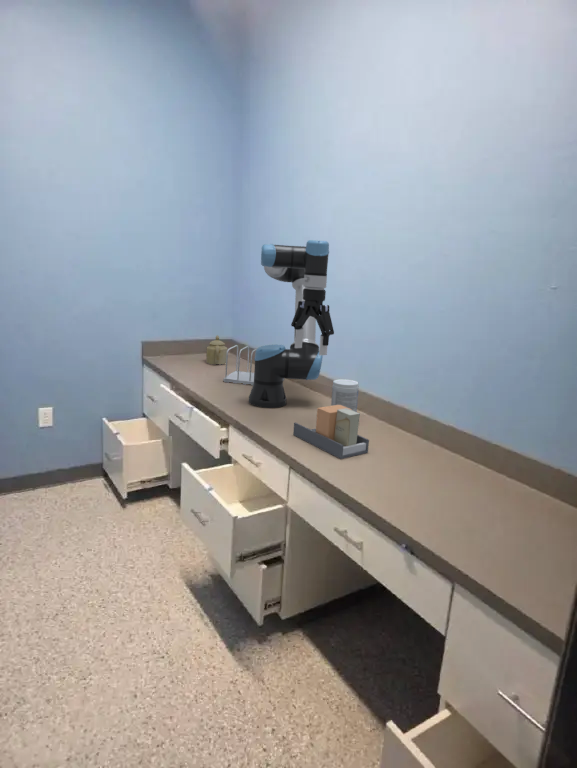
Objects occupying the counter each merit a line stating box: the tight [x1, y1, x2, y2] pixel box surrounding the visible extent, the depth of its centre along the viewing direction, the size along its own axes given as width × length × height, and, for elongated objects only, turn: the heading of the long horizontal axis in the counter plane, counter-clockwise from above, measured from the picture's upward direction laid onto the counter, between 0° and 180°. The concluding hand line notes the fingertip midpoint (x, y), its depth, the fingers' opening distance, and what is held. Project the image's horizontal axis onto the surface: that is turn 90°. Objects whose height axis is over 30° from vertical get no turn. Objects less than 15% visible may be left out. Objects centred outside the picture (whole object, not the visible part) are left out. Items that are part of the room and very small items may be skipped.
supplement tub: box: [330, 378, 359, 413], centre depth 194 cm, size 10×10×15 cm
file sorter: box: [222, 344, 285, 386], centre depth 245 cm, size 25×17×16 cm
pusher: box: [315, 405, 352, 440], centre depth 167 cm, size 6×9×11 cm, turn 126°
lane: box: [292, 422, 370, 460], centre depth 169 cm, size 24×11×4 cm, turn 36°
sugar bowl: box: [206, 334, 228, 365], centre depth 278 cm, size 15×11×15 cm
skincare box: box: [334, 408, 361, 447], centre depth 162 cm, size 6×4×12 cm
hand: (310, 351), depth 180 cm, fingers open, 13 cm apart
